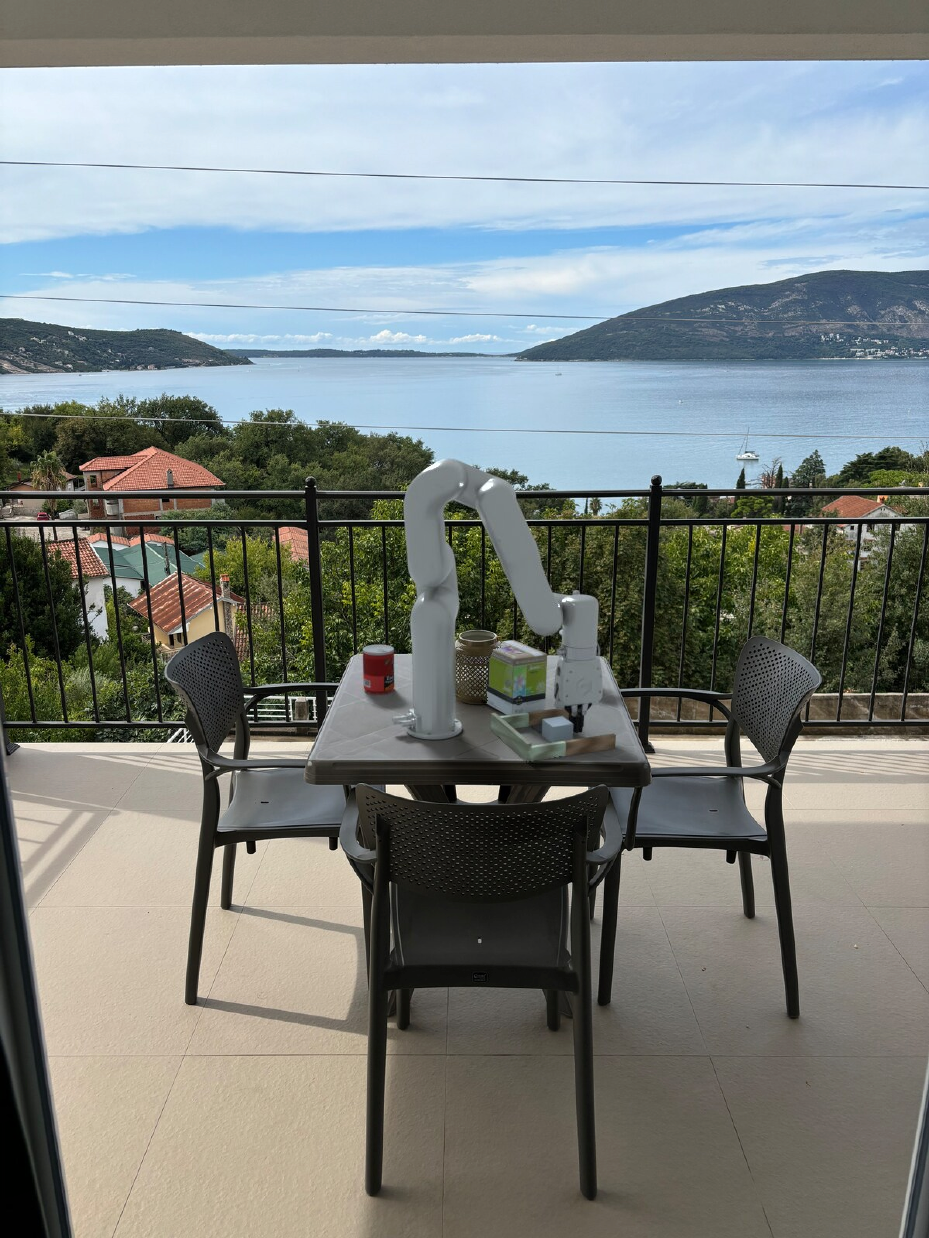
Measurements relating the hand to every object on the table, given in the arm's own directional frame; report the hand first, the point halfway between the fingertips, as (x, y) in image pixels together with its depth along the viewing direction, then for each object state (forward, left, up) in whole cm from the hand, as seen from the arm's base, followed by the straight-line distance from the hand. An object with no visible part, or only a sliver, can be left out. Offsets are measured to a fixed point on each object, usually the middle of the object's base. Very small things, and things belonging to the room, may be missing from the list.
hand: (575, 730), depth 194 cm
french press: (+18, +32, -1) cm, 37 cm away
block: (-5, 0, -1) cm, 5 cm away
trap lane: (-6, 0, -1) cm, 6 cm away
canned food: (-33, +45, -1) cm, 56 cm away
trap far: (-4, +6, -1) cm, 8 cm away
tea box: (-6, +22, -1) cm, 23 cm away
